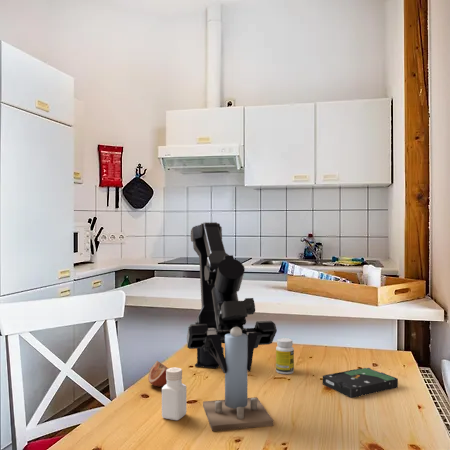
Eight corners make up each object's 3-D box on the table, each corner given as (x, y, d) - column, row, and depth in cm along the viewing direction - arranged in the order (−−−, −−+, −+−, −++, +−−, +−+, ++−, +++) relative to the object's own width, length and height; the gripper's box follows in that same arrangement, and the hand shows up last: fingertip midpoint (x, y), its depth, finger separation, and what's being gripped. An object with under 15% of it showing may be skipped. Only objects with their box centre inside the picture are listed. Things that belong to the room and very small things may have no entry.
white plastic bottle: (187, 414, 94) (187, 368, 94) (177, 422, 90) (177, 374, 90) (170, 411, 96) (170, 365, 96) (160, 418, 92) (160, 371, 92)
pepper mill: (220, 404, 93) (220, 327, 93) (234, 397, 97) (234, 323, 96) (238, 410, 90) (238, 330, 90) (251, 403, 94) (251, 326, 94)
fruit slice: (145, 381, 114) (145, 361, 114) (171, 377, 116) (171, 358, 116) (152, 392, 106) (152, 371, 106) (180, 388, 108) (180, 367, 108)
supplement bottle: (293, 375, 118) (293, 342, 118) (275, 374, 119) (274, 341, 119) (294, 369, 122) (294, 338, 122) (276, 368, 123) (276, 337, 123)
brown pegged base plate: (202, 406, 98) (202, 392, 98) (257, 401, 100) (257, 388, 100) (212, 431, 86) (212, 415, 86) (273, 425, 89) (273, 410, 89)
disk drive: (351, 401, 102) (399, 389, 109) (351, 389, 102) (398, 377, 109) (321, 386, 111) (367, 376, 118) (321, 375, 111) (366, 365, 118)
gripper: (188, 286, 95) (195, 354, 85) (274, 283, 99) (291, 348, 88) (184, 316, 103) (190, 381, 92) (264, 312, 107) (278, 375, 96)
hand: (237, 371), depth 92 cm, fingers closed on pepper mill, 5 cm apart
